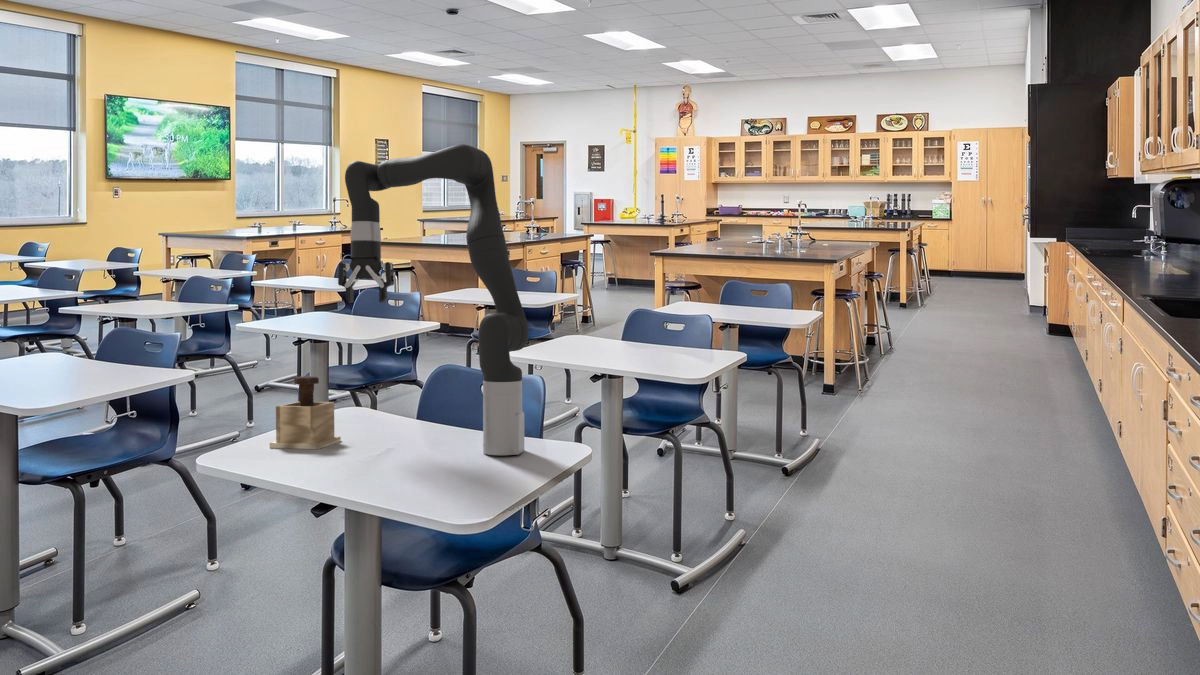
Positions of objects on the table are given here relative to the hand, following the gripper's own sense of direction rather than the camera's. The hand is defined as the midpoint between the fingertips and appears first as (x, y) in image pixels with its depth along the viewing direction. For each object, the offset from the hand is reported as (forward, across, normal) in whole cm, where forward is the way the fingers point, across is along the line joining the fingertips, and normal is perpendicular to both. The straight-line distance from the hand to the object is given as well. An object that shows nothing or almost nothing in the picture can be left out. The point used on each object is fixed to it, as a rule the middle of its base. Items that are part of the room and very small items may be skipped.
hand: (366, 302), depth 225 cm
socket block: (+34, +7, +20) cm, 40 cm away
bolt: (+33, +7, +20) cm, 39 cm away
